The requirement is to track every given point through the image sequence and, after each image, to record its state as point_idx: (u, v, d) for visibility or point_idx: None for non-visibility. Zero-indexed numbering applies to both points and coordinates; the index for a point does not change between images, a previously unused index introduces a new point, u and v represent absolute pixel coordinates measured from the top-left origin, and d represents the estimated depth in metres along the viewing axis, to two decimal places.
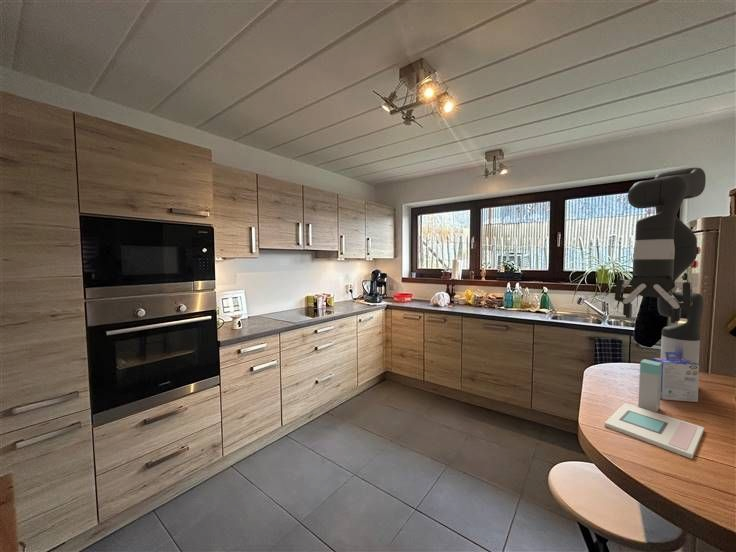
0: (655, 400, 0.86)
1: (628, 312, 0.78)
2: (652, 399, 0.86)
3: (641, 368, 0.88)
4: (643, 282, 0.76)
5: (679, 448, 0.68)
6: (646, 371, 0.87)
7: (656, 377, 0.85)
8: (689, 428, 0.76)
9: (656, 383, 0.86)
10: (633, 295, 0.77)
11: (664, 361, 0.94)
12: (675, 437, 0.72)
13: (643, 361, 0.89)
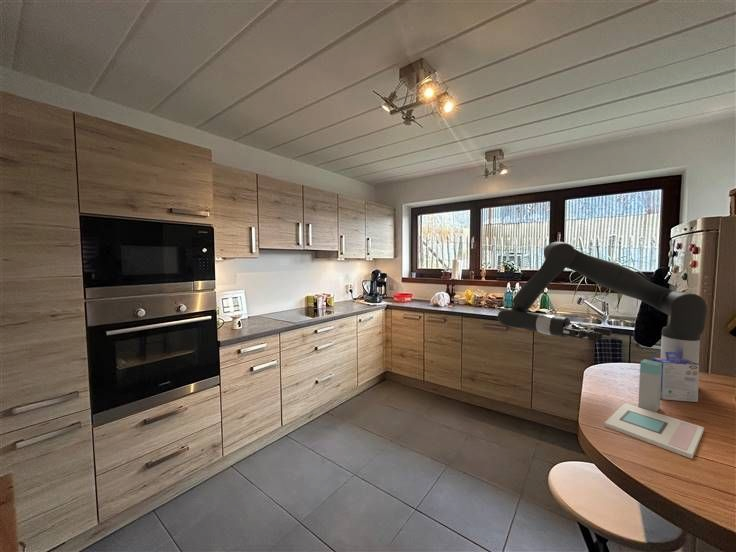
0: (655, 400, 0.86)
1: None
2: (652, 399, 0.86)
3: (641, 368, 0.88)
4: None
5: (679, 448, 0.68)
6: (646, 371, 0.87)
7: (656, 377, 0.85)
8: (689, 428, 0.76)
9: (656, 383, 0.86)
10: None
11: (664, 361, 0.94)
12: (675, 437, 0.72)
13: (643, 361, 0.88)
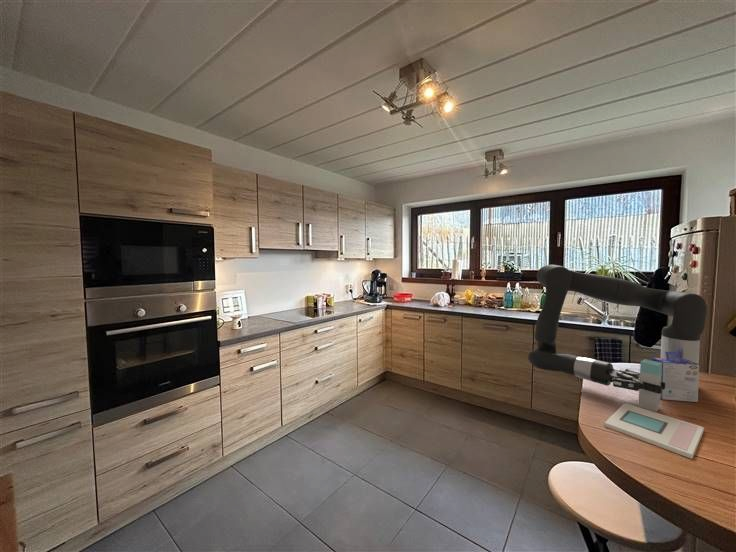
0: (655, 400, 0.86)
1: None
2: (652, 398, 0.86)
3: (641, 368, 0.88)
4: None
5: (679, 448, 0.68)
6: (646, 371, 0.87)
7: (656, 377, 0.85)
8: (689, 428, 0.76)
9: (656, 383, 0.86)
10: None
11: (664, 361, 0.94)
12: (675, 437, 0.72)
13: (643, 361, 0.88)
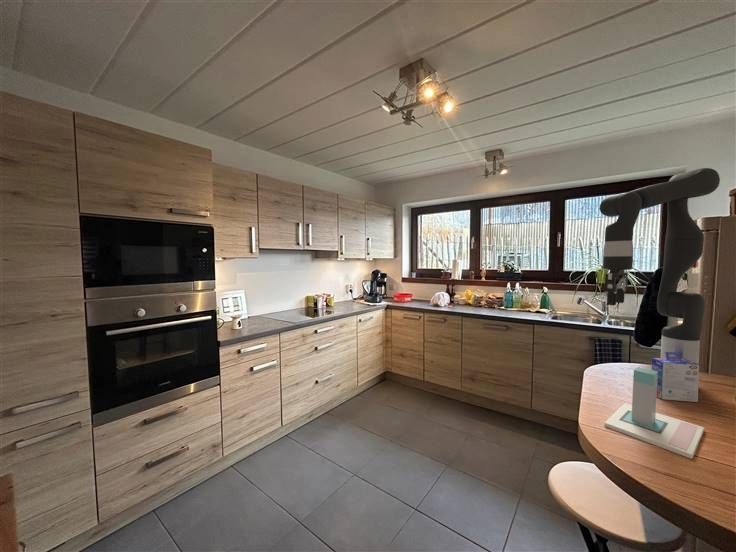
0: (650, 413, 0.77)
1: (615, 297, 1.00)
2: (647, 412, 0.77)
3: (635, 377, 0.79)
4: None
5: (679, 448, 0.68)
6: (640, 381, 0.78)
7: (651, 388, 0.76)
8: (689, 428, 0.76)
9: (651, 394, 0.76)
10: None
11: (664, 361, 0.94)
12: (675, 437, 0.72)
13: (637, 369, 0.79)
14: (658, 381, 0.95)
